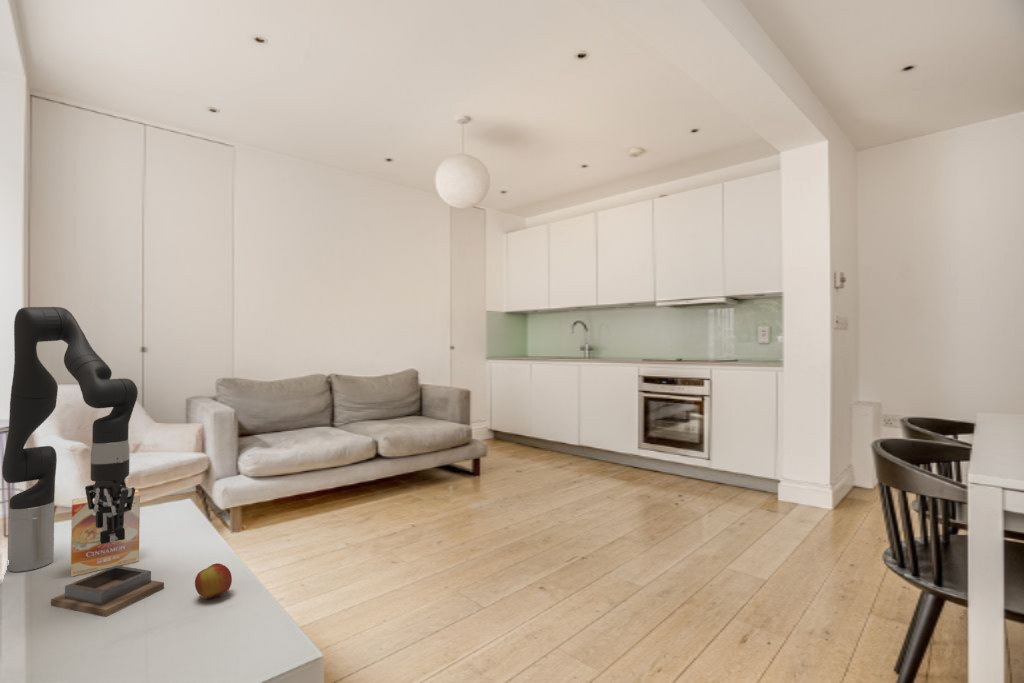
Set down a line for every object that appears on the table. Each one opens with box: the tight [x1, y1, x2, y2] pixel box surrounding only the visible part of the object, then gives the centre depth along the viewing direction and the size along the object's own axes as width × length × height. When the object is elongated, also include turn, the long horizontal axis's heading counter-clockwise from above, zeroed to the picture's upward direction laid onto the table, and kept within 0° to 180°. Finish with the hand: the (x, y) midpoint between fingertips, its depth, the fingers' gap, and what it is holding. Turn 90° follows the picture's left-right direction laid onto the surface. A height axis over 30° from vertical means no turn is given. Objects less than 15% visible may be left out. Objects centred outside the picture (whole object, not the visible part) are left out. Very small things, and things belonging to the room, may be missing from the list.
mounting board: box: [50, 579, 165, 617], centre depth 123 cm, size 18×14×2 cm
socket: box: [64, 565, 152, 606], centre depth 124 cm, size 12×12×3 cm
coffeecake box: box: [70, 489, 141, 578], centre depth 142 cm, size 15×7×20 cm, turn 131°
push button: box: [92, 498, 125, 544], centre depth 124 cm, size 7×5×10 cm
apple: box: [194, 563, 233, 599], centre depth 123 cm, size 8×8×8 cm
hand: (109, 527), depth 124 cm, fingers closed on push button, 4 cm apart
